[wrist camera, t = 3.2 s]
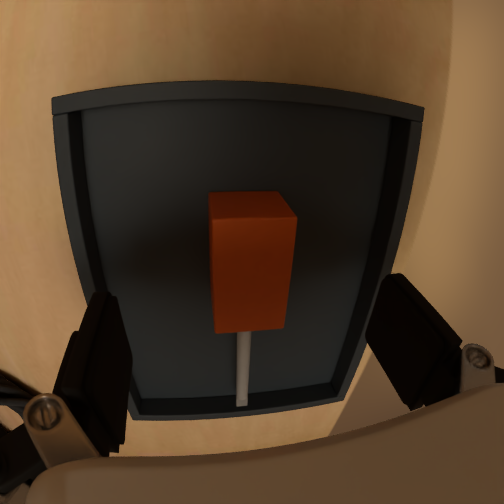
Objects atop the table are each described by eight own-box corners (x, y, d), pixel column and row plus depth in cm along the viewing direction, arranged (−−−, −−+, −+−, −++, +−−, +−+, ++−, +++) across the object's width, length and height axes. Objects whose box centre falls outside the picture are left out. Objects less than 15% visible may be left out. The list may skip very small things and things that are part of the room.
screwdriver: (208, 191, 13) (211, 219, 10) (278, 190, 14) (298, 217, 11) (215, 388, 19) (220, 426, 17) (260, 384, 20) (269, 421, 17)
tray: (71, 95, 10) (50, 97, 9) (398, 102, 13) (425, 107, 11) (134, 396, 20) (132, 420, 18) (334, 379, 22) (343, 400, 20)
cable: (-64, 338, 15) (-84, 374, 11) (70, 380, 18) (58, 430, 14) (-5, 437, 22) (-12, 465, 18) (99, 466, 26) (97, 498, 22)
